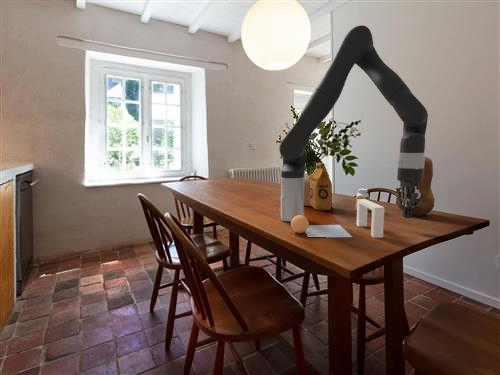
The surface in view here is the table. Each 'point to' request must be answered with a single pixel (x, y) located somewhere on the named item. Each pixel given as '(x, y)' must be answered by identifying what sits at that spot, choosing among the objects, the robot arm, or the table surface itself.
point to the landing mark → (326, 231)
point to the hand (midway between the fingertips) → (406, 217)
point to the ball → (299, 224)
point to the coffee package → (320, 188)
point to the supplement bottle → (362, 195)
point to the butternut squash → (423, 191)
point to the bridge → (377, 217)
